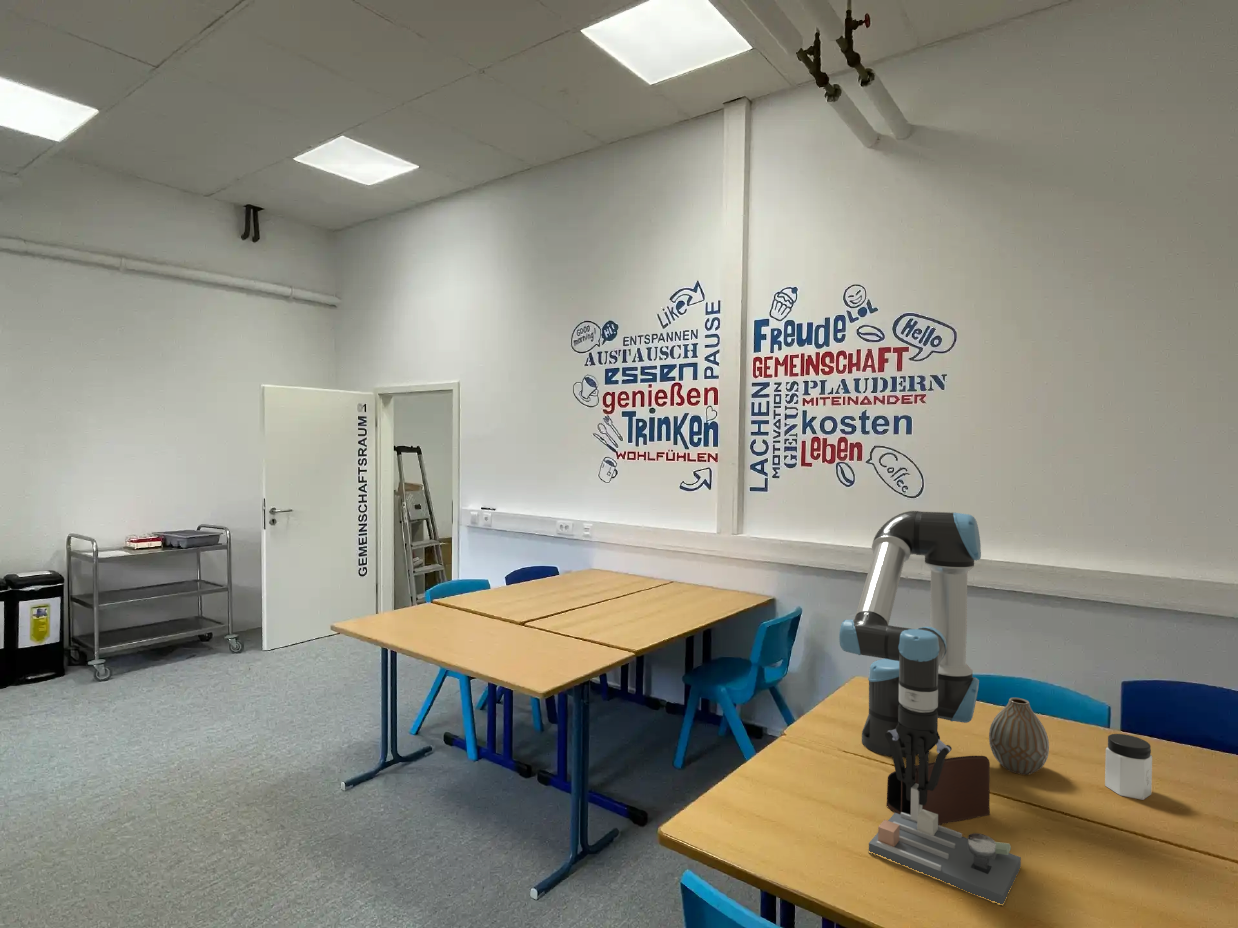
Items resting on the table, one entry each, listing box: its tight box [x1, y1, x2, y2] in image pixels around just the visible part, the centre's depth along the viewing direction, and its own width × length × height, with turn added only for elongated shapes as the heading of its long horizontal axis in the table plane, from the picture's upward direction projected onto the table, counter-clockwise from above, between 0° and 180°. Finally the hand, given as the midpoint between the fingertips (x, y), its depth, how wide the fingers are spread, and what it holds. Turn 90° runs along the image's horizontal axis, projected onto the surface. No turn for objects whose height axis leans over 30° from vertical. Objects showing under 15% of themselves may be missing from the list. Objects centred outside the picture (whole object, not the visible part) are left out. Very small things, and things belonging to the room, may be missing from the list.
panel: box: [868, 812, 1022, 904], centre depth 133 cm, size 24×15×4 cm, turn 49°
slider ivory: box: [917, 809, 938, 836], centre depth 139 cm, size 3×4×3 cm
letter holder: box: [885, 755, 991, 826], centre depth 151 cm, size 10×20×14 cm, turn 108°
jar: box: [1104, 733, 1153, 801], centre depth 160 cm, size 9×8×12 cm
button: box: [967, 832, 996, 869], centre depth 128 cm, size 5×5×5 cm
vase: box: [988, 697, 1050, 776], centre depth 171 cm, size 13×13×18 cm
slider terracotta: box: [877, 819, 900, 847], centre depth 135 cm, size 3×4×3 cm
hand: (916, 817), depth 141 cm, fingers closed
